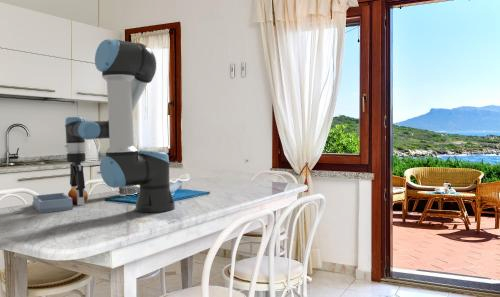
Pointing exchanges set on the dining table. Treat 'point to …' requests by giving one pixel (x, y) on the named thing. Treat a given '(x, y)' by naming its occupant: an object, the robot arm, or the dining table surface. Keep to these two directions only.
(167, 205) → the robot arm
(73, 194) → the fruit
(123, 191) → the decorative candle
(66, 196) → the blue-grey open box
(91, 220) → the dining table surface
